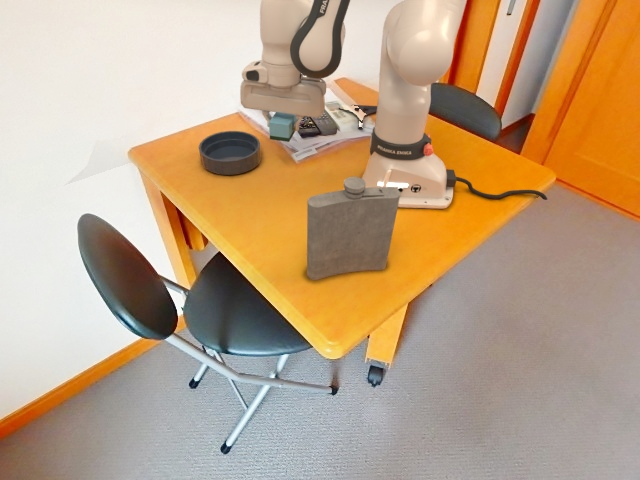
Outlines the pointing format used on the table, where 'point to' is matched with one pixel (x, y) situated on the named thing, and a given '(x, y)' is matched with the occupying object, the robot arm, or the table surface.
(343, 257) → the hip flask
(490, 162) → the table surface
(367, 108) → the bracket
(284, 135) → the sponge
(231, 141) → the bowl
